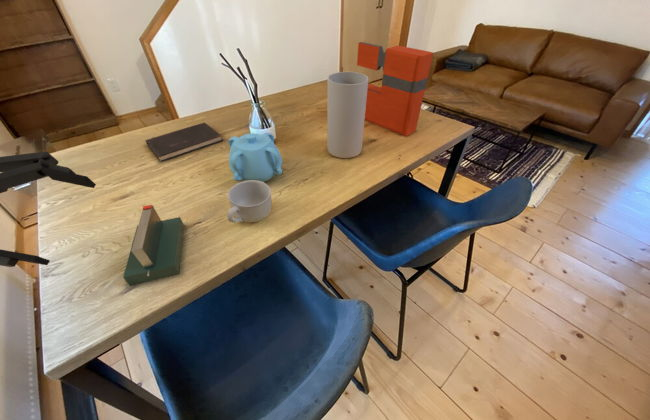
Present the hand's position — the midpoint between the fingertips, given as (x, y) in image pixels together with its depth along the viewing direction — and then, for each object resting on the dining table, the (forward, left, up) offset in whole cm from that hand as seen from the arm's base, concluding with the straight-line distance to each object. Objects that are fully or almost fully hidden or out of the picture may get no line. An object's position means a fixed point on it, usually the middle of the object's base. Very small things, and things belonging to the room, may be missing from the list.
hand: (68, 218), depth 43 cm
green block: (+10, +3, -22) cm, 25 cm away
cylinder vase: (+71, -24, -22) cm, 78 cm away
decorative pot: (+47, -2, -22) cm, 52 cm away
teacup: (+28, -11, -22) cm, 38 cm away
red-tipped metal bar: (+10, +3, -19) cm, 22 cm away
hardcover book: (+55, +35, -22) cm, 69 cm away
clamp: (+101, -29, -22) cm, 108 cm away
